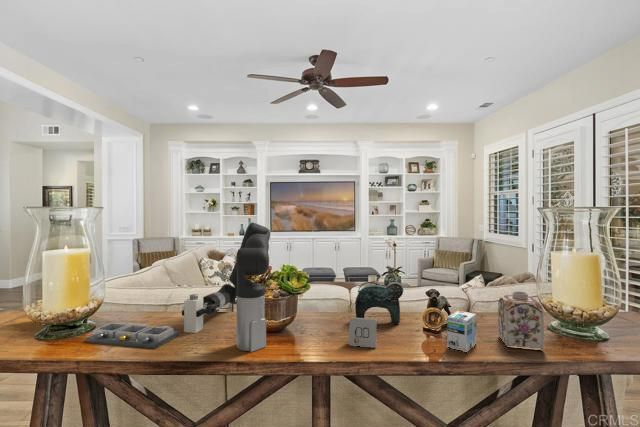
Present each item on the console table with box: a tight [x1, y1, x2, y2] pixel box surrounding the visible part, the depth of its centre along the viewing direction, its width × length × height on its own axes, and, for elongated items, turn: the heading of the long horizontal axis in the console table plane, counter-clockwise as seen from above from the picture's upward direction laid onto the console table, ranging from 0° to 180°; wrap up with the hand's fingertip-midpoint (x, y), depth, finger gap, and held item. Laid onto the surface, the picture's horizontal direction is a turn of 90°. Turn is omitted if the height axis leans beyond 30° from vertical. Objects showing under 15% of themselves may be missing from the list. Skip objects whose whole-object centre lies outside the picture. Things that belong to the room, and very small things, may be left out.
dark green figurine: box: [354, 273, 404, 324], centre depth 145 cm, size 20×6×20 cm, turn 82°
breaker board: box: [85, 321, 180, 350], centre depth 124 cm, size 27×13×4 cm, turn 78°
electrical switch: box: [348, 317, 378, 349], centre depth 120 cm, size 9×5×9 cm, turn 78°
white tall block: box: [183, 293, 204, 334], centre depth 133 cm, size 5×5×14 cm
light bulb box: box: [446, 310, 478, 351], centre depth 119 cm, size 11×7×11 cm, turn 139°
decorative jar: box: [497, 290, 545, 350], centre depth 121 cm, size 12×12×18 cm
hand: (190, 313), depth 131 cm, fingers open, 5 cm apart
